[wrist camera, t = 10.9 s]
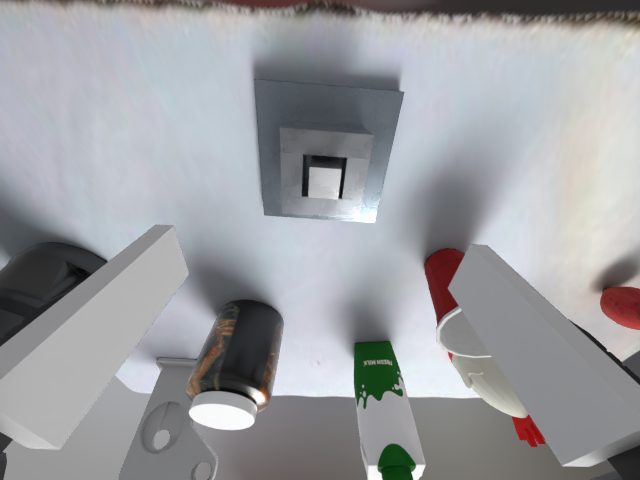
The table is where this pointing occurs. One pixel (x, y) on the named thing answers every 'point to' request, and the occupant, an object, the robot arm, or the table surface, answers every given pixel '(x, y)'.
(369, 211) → the stand
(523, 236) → the table surface
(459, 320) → the plastic cup
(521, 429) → the chicken hat
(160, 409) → the phone holder
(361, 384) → the milk carton
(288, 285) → the table surface
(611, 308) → the onion
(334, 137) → the block
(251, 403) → the jar
